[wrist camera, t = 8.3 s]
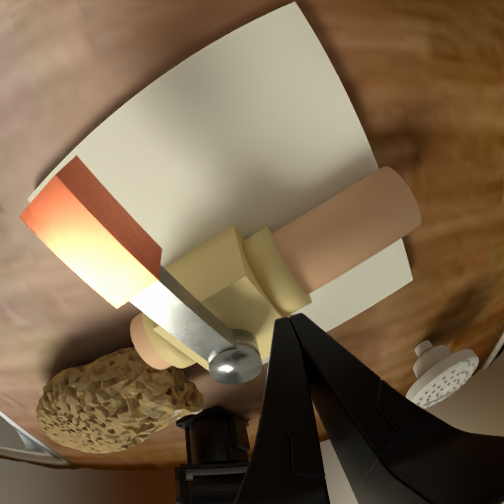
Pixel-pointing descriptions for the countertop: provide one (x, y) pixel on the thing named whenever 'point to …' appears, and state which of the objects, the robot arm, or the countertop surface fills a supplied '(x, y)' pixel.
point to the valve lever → (132, 269)
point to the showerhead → (439, 373)
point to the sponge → (114, 402)
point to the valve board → (255, 186)
